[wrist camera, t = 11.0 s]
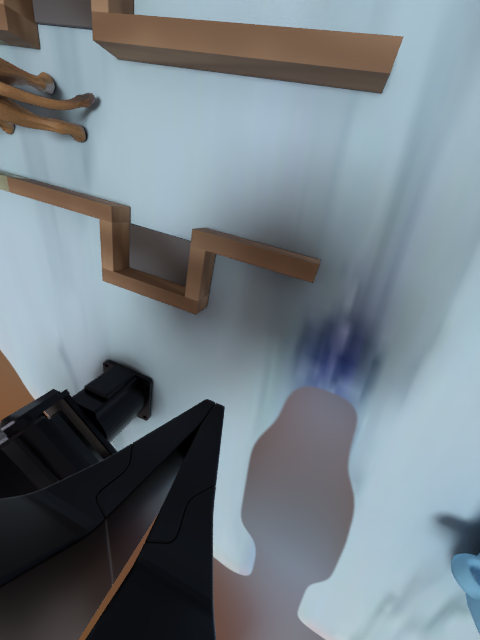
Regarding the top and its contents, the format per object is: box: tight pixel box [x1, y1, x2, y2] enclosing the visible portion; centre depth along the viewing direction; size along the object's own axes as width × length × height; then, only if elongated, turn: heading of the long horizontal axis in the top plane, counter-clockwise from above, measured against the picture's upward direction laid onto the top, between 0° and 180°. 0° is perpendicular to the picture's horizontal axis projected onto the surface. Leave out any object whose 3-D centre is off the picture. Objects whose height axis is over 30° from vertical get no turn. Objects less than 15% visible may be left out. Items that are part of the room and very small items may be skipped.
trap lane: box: [0, 0, 403, 314], centre depth 18 cm, size 22×36×2 cm, turn 78°
